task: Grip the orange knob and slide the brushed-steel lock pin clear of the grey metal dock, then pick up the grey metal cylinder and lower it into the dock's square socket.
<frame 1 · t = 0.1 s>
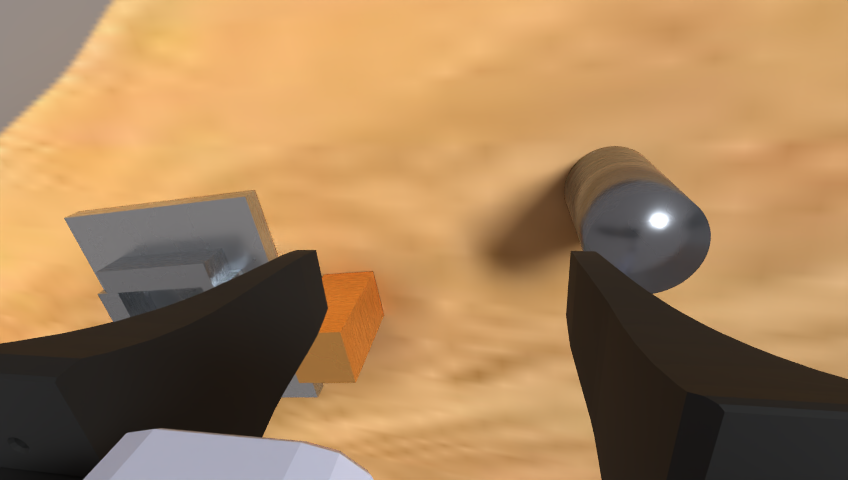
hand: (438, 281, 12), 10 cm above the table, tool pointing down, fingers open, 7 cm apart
lock pin: (243, 327, 24), point 3 cm above the table, slide at 0.0 cm
dock: (207, 303, 28), on the table
grey metal cylinder: (608, 188, 20), on the table
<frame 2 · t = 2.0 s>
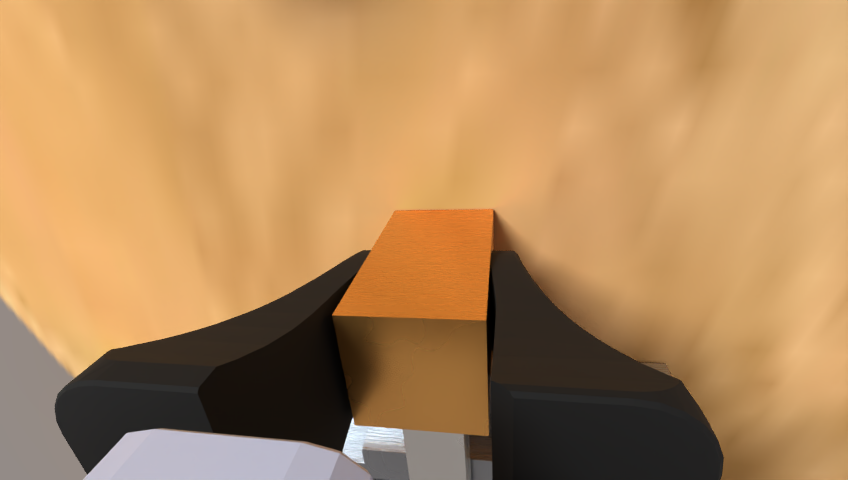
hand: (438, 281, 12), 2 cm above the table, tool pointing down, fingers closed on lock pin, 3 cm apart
lock pin: (446, 454, 14), point 3 cm above the table, slide at 0.0 cm, touching gripper
dock: (460, 467, 18), on the table
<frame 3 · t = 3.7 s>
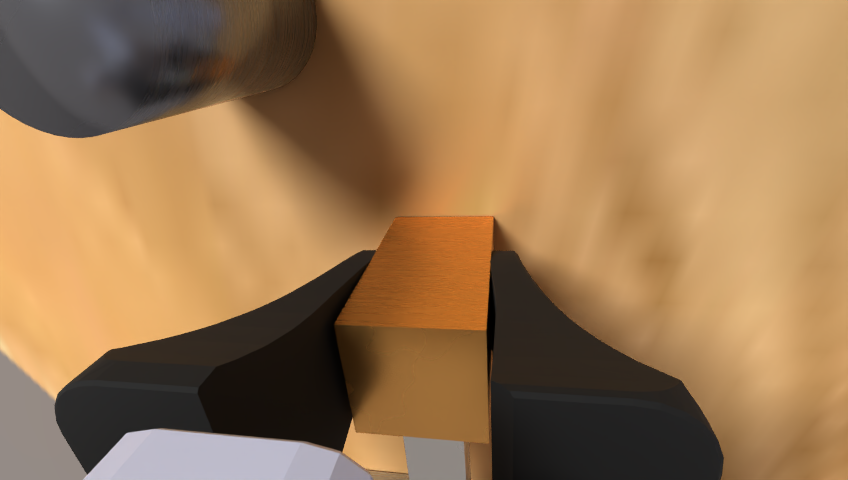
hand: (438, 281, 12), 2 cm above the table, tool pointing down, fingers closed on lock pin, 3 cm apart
lock pin: (446, 459, 14), point 3 cm above the table, slide at 6.5 cm, touching gripper
grey metal cylinder: (245, 12, 12), on the table
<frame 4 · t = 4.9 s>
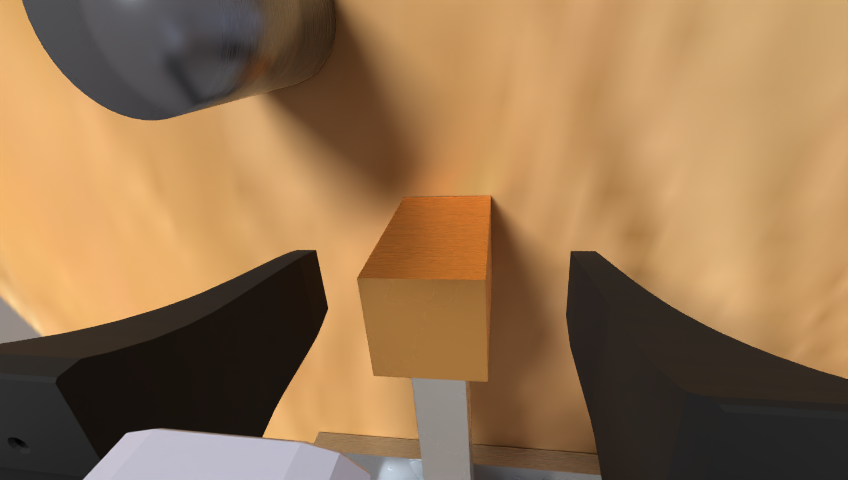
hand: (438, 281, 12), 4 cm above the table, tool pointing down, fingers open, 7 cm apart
lock pin: (449, 414, 15), point 3 cm above the table, slide at 6.6 cm
grey metal cylinder: (272, 16, 13), on the table
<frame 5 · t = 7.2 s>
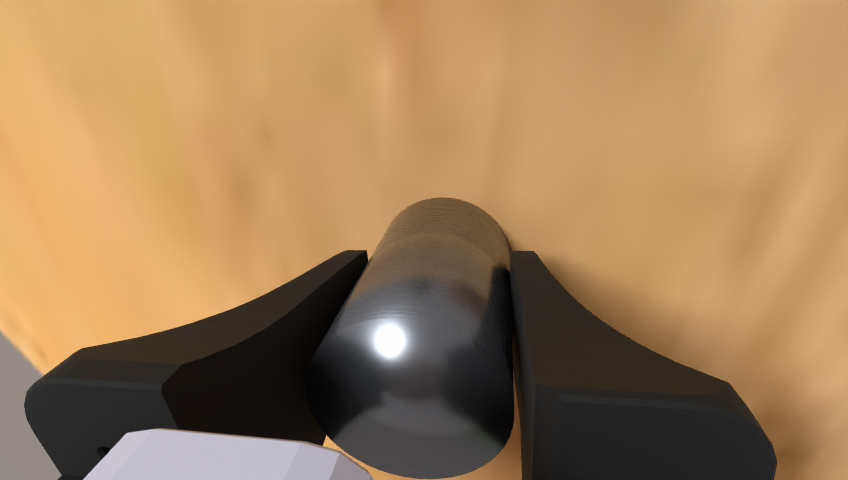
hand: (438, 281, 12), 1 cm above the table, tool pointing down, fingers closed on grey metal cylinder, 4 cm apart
grey metal cylinder: (445, 258, 13), on the table, touching gripper
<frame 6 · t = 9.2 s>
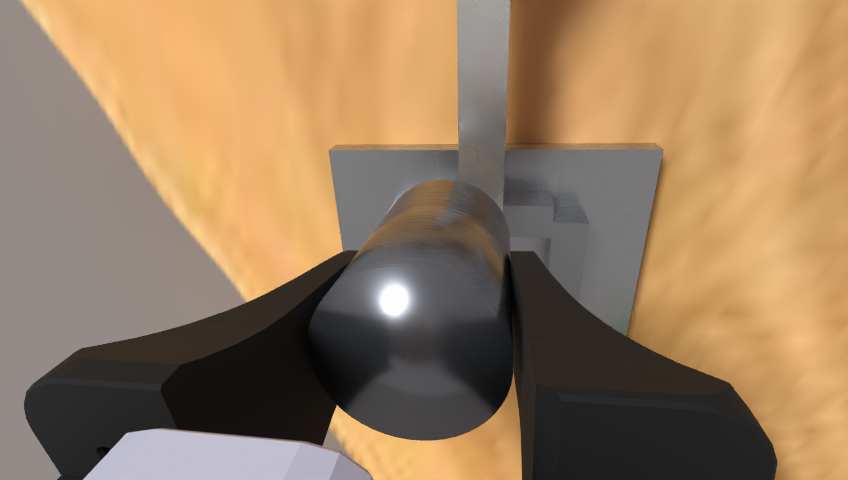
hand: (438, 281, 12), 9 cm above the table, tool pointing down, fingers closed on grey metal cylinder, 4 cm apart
lock pin: (485, 22, 15), point 3 cm above the table, slide at 6.6 cm
dock: (484, 262, 22), on the table
grey metal cylinder: (445, 240, 14), point 7 cm above the table, touching gripper
when the fingers open (3 cm above the table, at t = 11.3 s): grey metal cylinder stays where it is, resting on dock.
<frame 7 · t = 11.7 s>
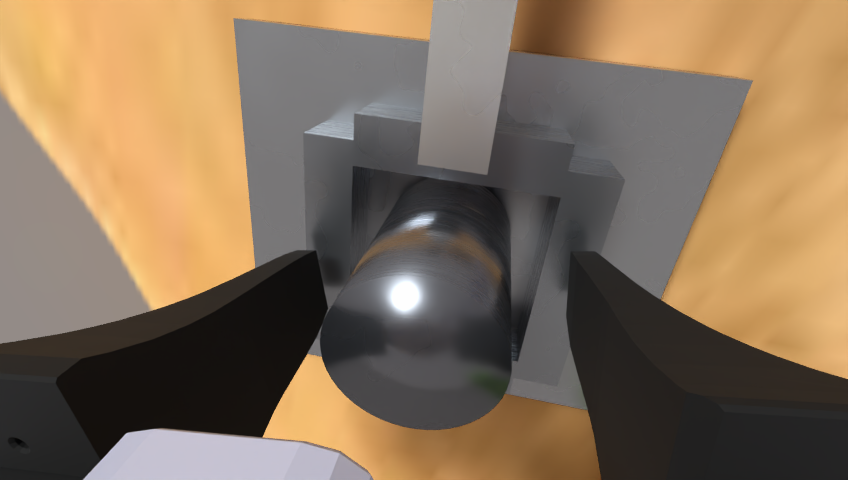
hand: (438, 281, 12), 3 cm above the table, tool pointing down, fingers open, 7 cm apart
dock: (452, 231, 15), on the table
grey metal cylinder: (448, 234, 14), point 1 cm above the table, touching dock
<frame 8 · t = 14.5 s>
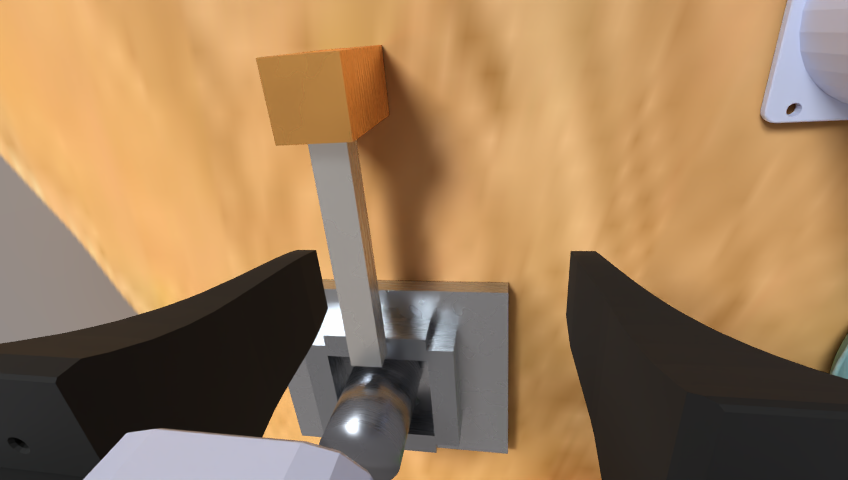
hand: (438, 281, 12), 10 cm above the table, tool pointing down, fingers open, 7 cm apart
lock pin: (354, 221, 20), point 3 cm above the table, slide at 6.6 cm
dock: (393, 363, 27), on the table
grey metal cylinder: (388, 370, 26), point 1 cm above the table, touching dock
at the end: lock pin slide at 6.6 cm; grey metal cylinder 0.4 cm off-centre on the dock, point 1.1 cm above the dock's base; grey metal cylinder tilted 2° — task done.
